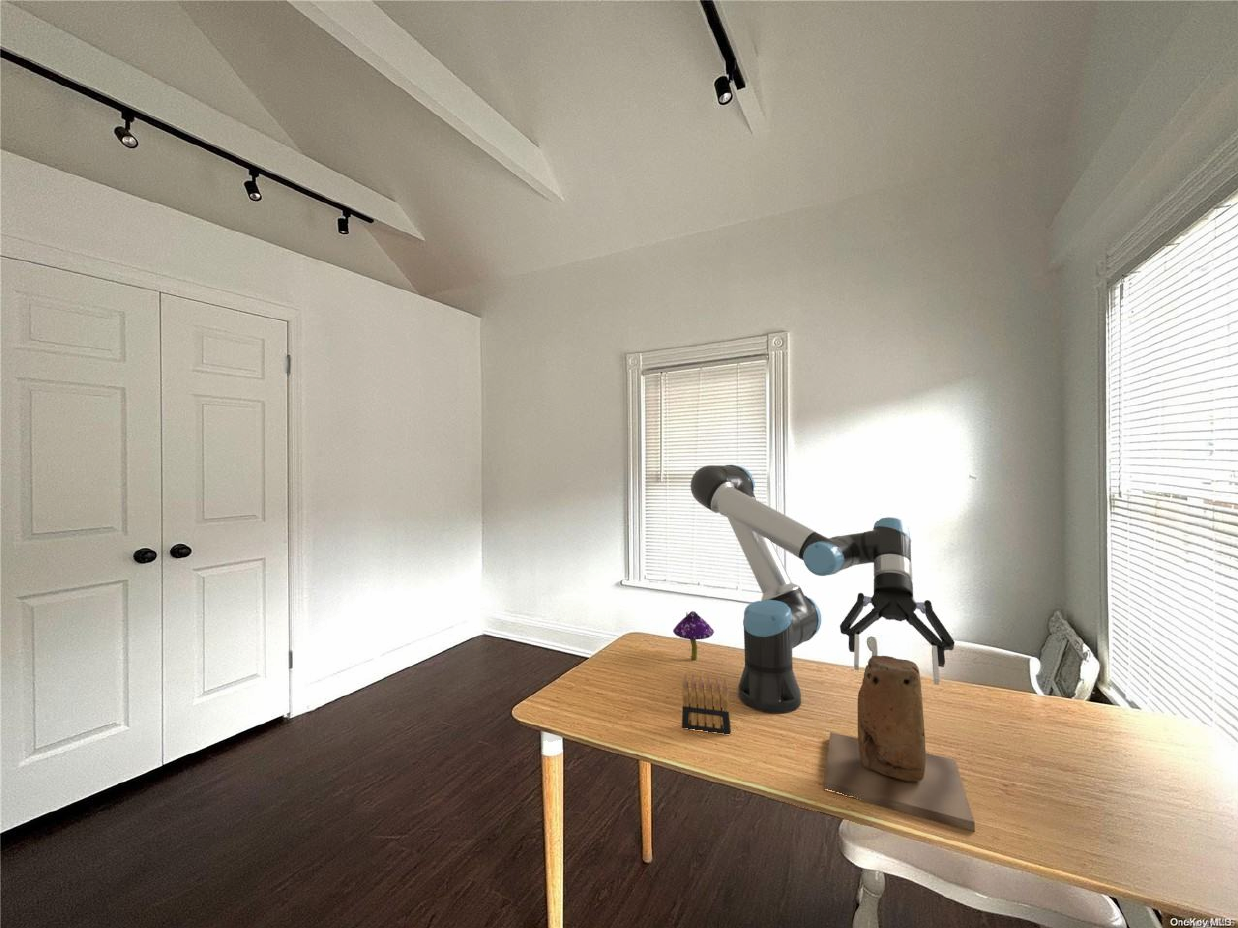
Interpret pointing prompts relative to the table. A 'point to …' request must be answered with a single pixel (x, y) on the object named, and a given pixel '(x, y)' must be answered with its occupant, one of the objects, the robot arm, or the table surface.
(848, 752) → the walnut board
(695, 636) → the decorative mushroom
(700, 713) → the ammunition clip
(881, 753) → the block
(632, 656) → the table surface
